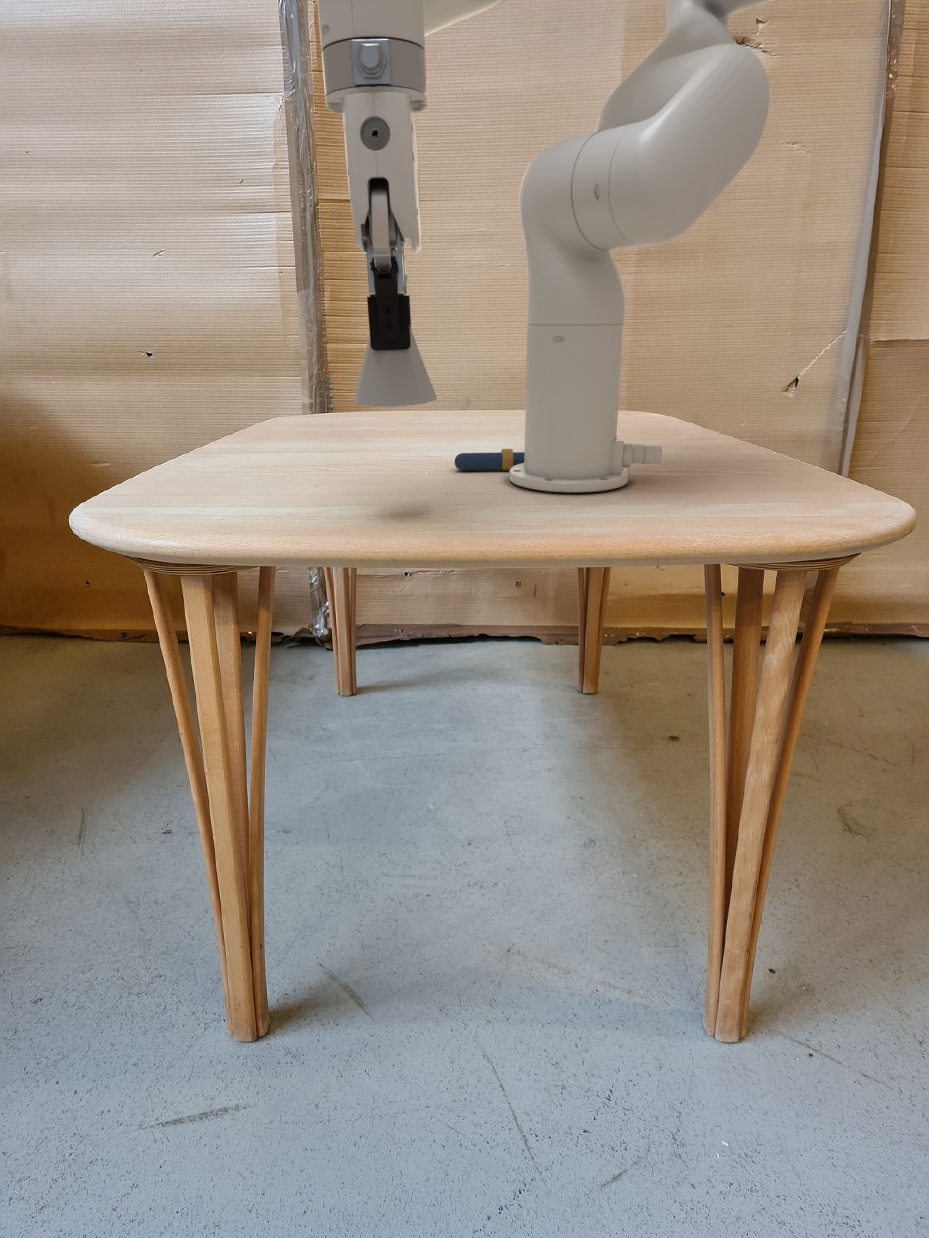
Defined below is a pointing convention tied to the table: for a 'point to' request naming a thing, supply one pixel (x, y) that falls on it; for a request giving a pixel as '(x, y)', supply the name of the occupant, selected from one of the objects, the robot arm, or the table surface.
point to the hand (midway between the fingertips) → (392, 345)
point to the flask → (394, 377)
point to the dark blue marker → (489, 460)
